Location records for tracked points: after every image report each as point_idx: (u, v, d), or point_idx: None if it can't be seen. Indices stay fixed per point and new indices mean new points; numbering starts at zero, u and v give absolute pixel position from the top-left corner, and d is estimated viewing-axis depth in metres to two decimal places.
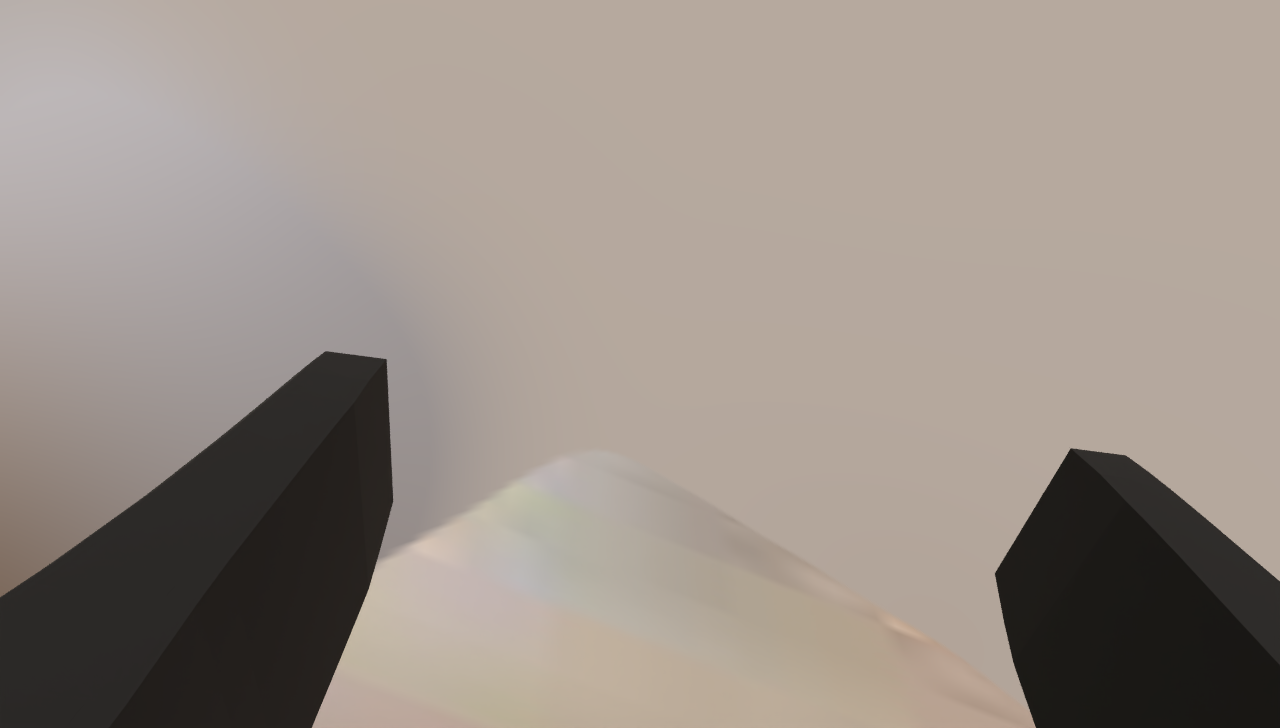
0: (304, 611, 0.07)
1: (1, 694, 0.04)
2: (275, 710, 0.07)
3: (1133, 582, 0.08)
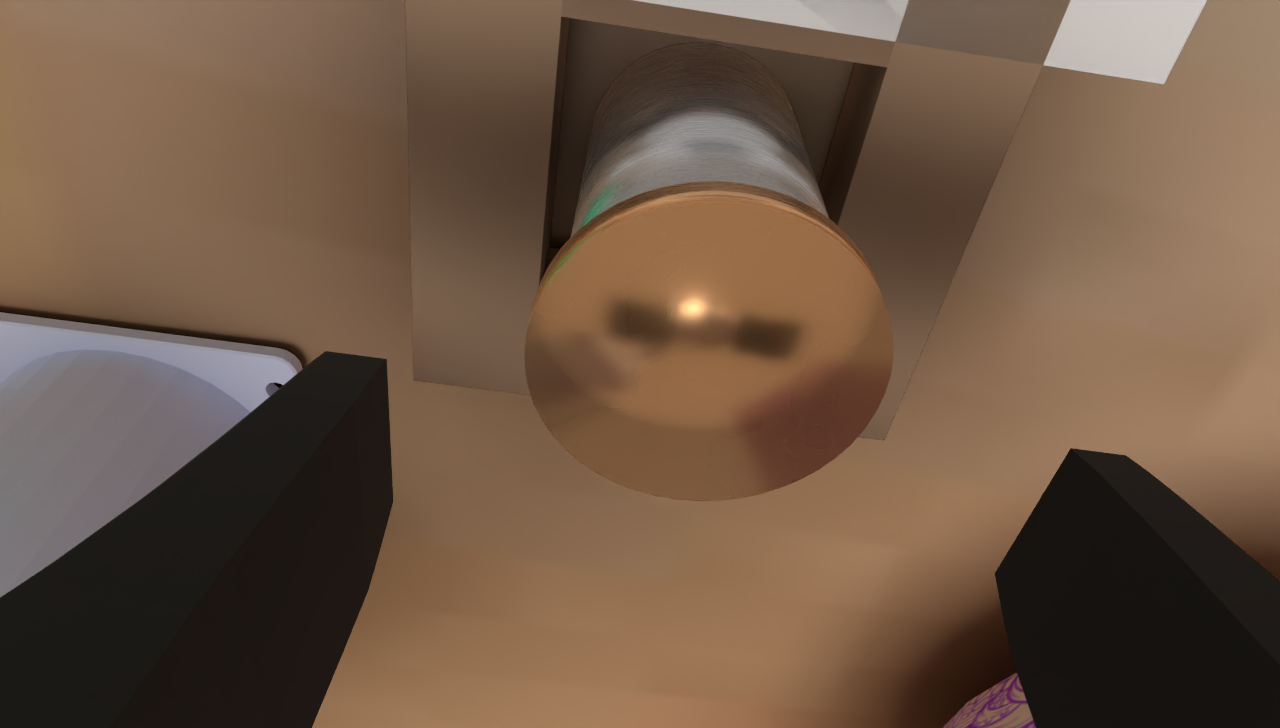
0: (304, 611, 0.07)
1: (1, 694, 0.04)
2: (275, 712, 0.07)
3: (1133, 582, 0.08)
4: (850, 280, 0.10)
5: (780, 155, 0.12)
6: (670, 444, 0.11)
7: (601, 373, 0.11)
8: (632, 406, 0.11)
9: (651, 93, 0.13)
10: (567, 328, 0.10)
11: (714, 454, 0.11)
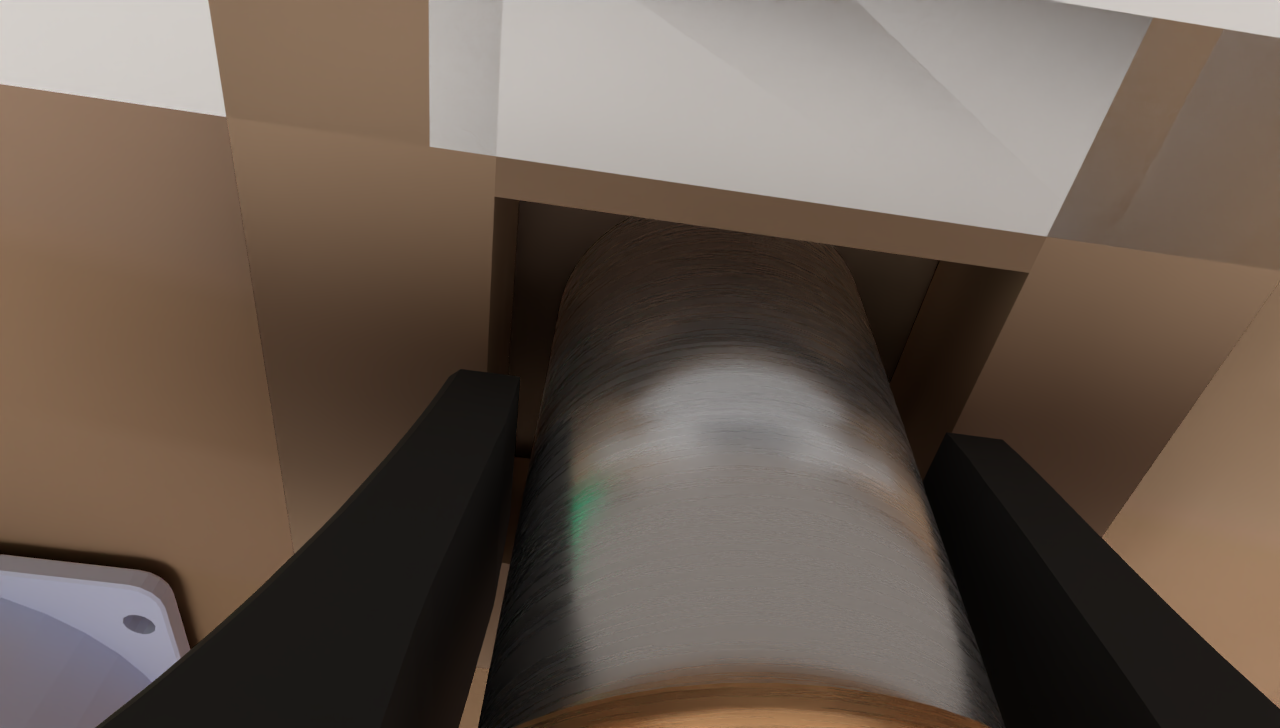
0: (461, 628, 0.07)
1: (257, 720, 0.04)
2: None
3: (990, 565, 0.07)
4: None
5: (872, 476, 0.07)
6: None
7: None
8: None
9: (645, 312, 0.08)
10: None
11: None
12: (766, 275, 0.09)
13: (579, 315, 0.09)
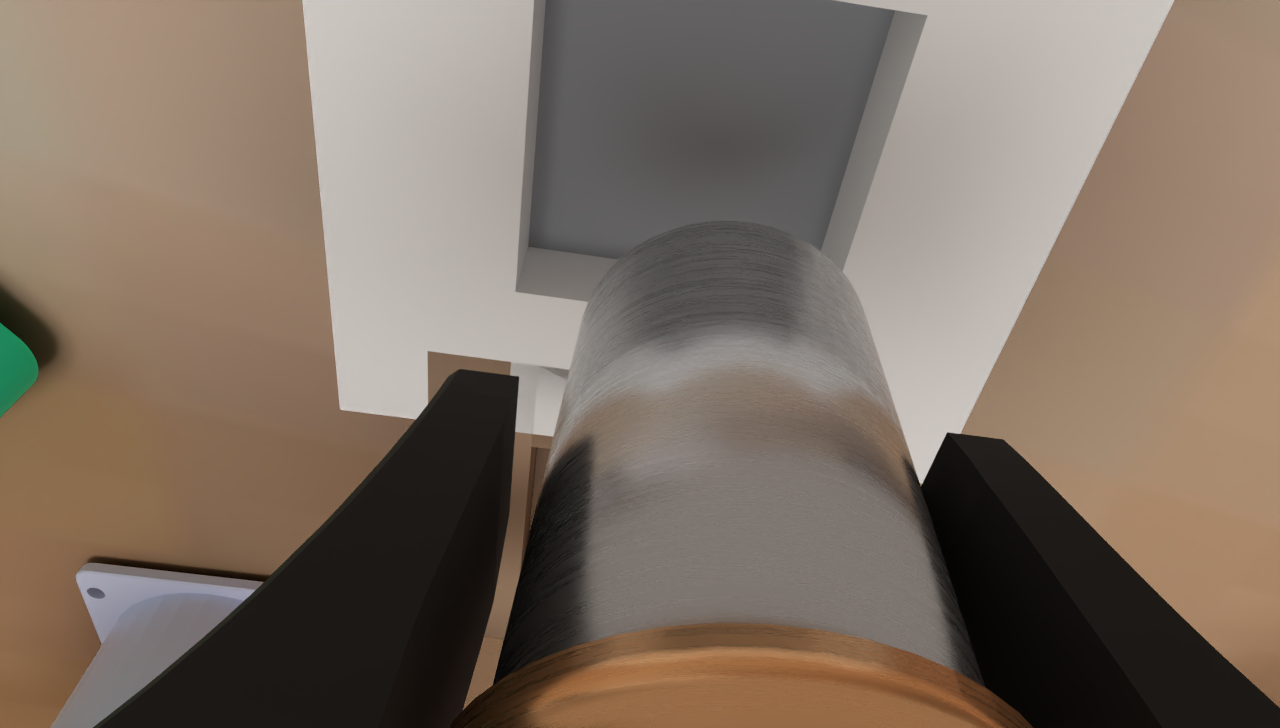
0: (461, 628, 0.07)
1: (256, 720, 0.04)
2: None
3: (991, 565, 0.07)
4: None
5: (867, 466, 0.07)
6: None
7: None
8: None
9: (659, 320, 0.09)
10: None
11: None
12: (774, 289, 0.09)
13: (598, 325, 0.10)
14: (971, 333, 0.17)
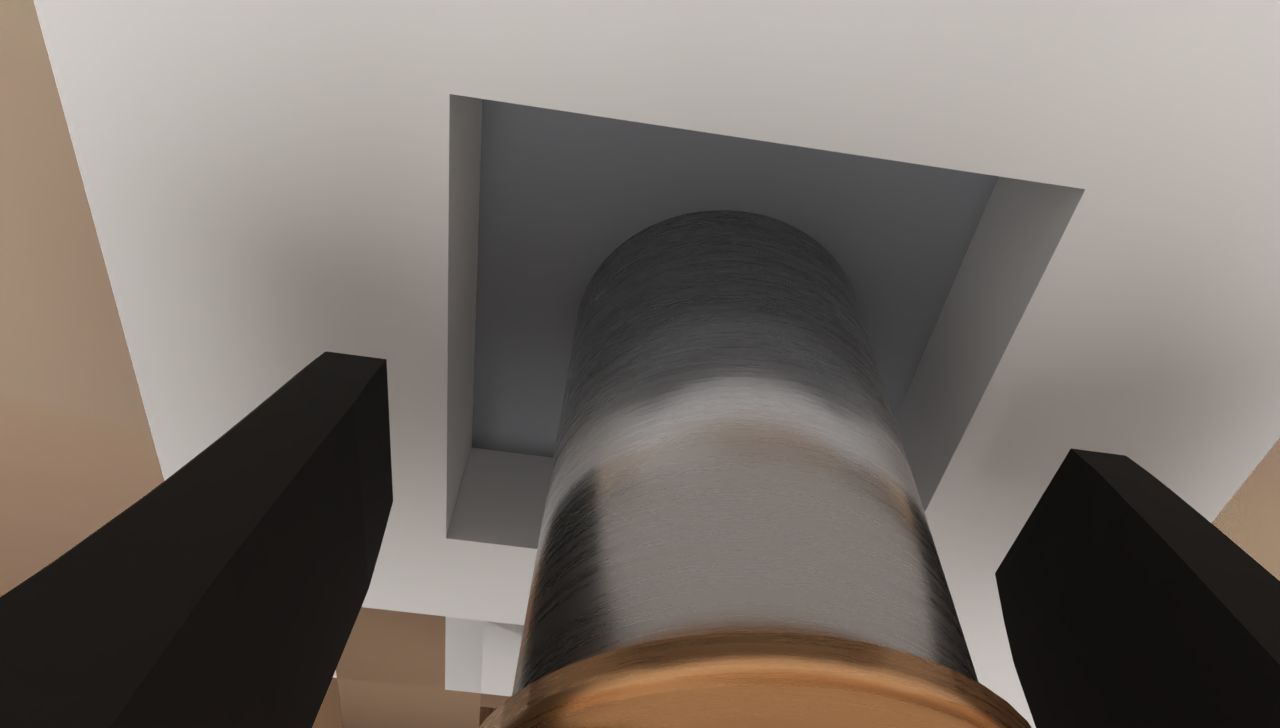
0: (304, 611, 0.07)
1: (1, 693, 0.04)
2: (275, 711, 0.07)
3: (1133, 582, 0.08)
4: None
5: (864, 464, 0.07)
6: None
7: None
8: None
9: (661, 316, 0.09)
10: None
11: None
12: (771, 283, 0.10)
13: (599, 319, 0.10)
14: None
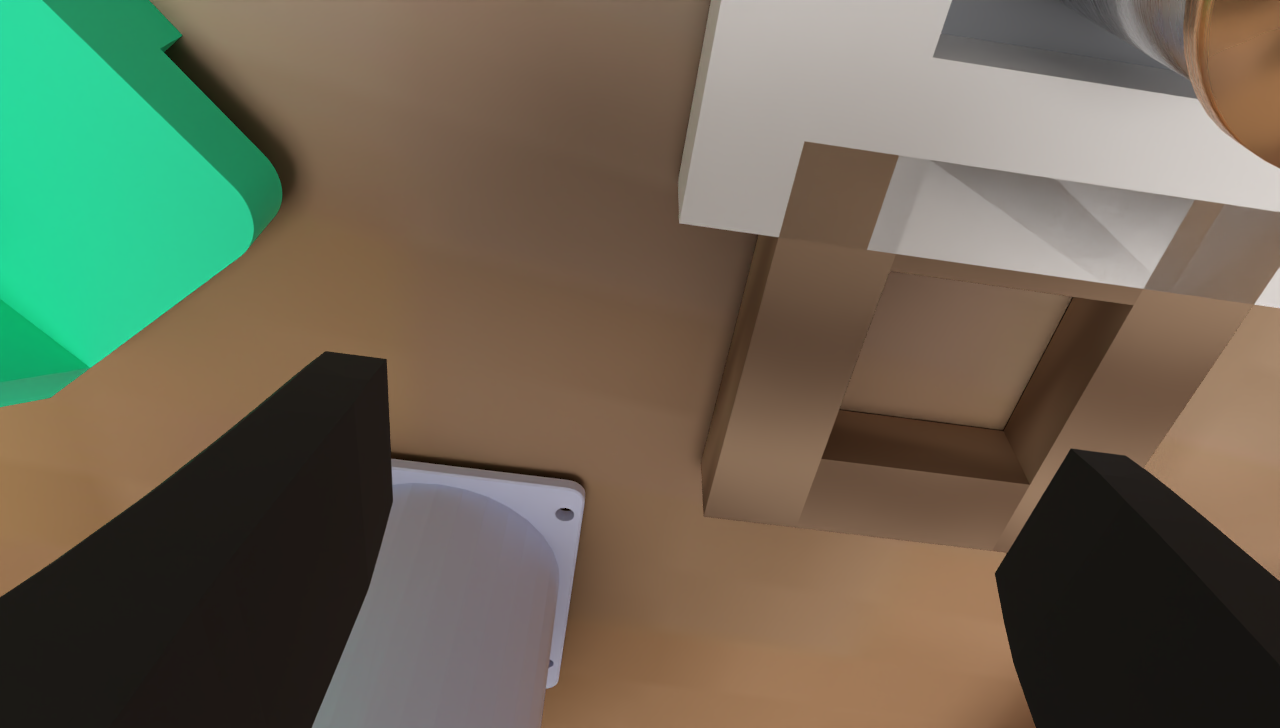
0: (304, 611, 0.07)
1: (1, 694, 0.04)
2: (275, 710, 0.07)
3: (1133, 582, 0.08)
4: None
5: None
6: None
7: None
8: None
9: None
10: None
11: None
12: None
13: None
14: None
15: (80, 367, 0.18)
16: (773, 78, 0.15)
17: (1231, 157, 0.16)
